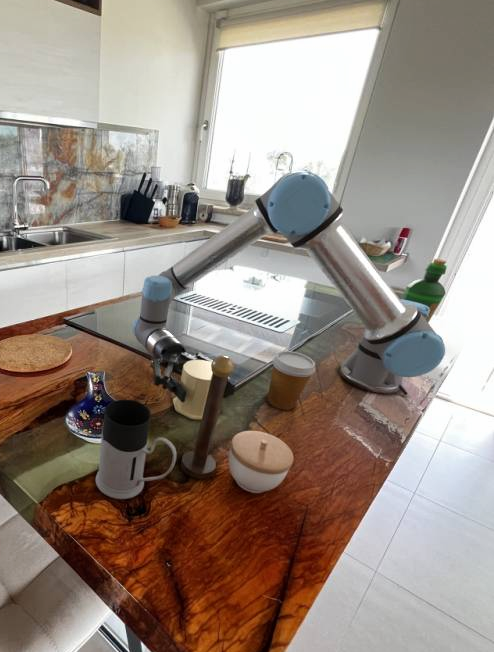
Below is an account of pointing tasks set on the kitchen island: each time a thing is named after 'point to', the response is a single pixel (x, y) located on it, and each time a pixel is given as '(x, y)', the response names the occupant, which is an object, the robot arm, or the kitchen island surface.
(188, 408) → the hat
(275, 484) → the trinket box
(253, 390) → the kitchen island surface
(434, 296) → the bottle
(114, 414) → the glass holder
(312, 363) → the disposable coffee cup
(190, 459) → the stand
